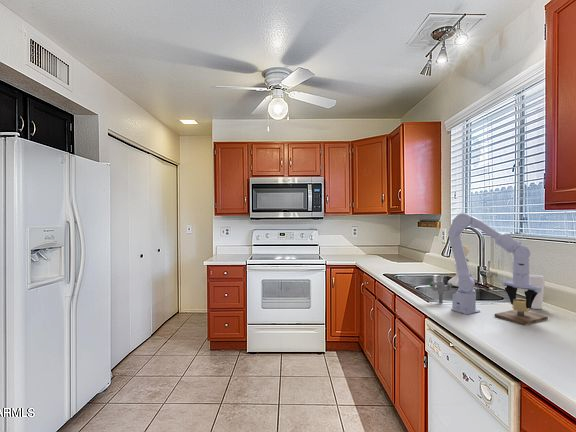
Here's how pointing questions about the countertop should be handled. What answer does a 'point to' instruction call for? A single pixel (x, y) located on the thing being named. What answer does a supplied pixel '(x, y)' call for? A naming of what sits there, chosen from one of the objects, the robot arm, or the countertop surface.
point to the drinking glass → (538, 300)
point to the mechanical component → (440, 289)
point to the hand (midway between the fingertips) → (520, 306)
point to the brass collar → (519, 305)
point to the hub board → (521, 317)
